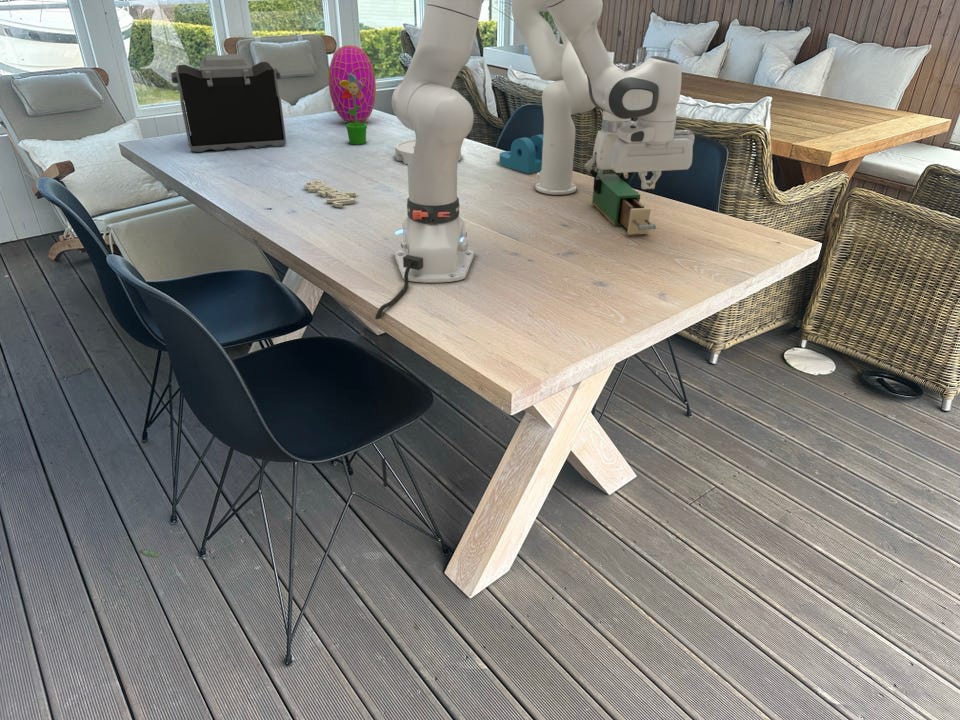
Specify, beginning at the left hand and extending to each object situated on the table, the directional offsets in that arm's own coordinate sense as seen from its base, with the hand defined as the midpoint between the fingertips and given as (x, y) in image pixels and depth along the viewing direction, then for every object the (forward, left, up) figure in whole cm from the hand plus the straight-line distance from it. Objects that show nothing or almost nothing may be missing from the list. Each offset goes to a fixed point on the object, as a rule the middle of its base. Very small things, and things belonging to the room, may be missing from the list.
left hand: (647, 188), depth 170 cm
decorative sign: (+39, +84, -13) cm, 93 cm away
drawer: (+8, +1, -12) cm, 15 cm away
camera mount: (+70, +24, -13) cm, 75 cm away
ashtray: (+81, +56, -13) cm, 100 cm away
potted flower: (+104, +83, -13) cm, 133 cm away
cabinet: (+19, +3, -13) cm, 23 cm away
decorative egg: (+141, +88, -13) cm, 166 cm away
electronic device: (+104, +128, -13) cm, 165 cm away
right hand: (+24, +4, -8) cm, 25 cm away
